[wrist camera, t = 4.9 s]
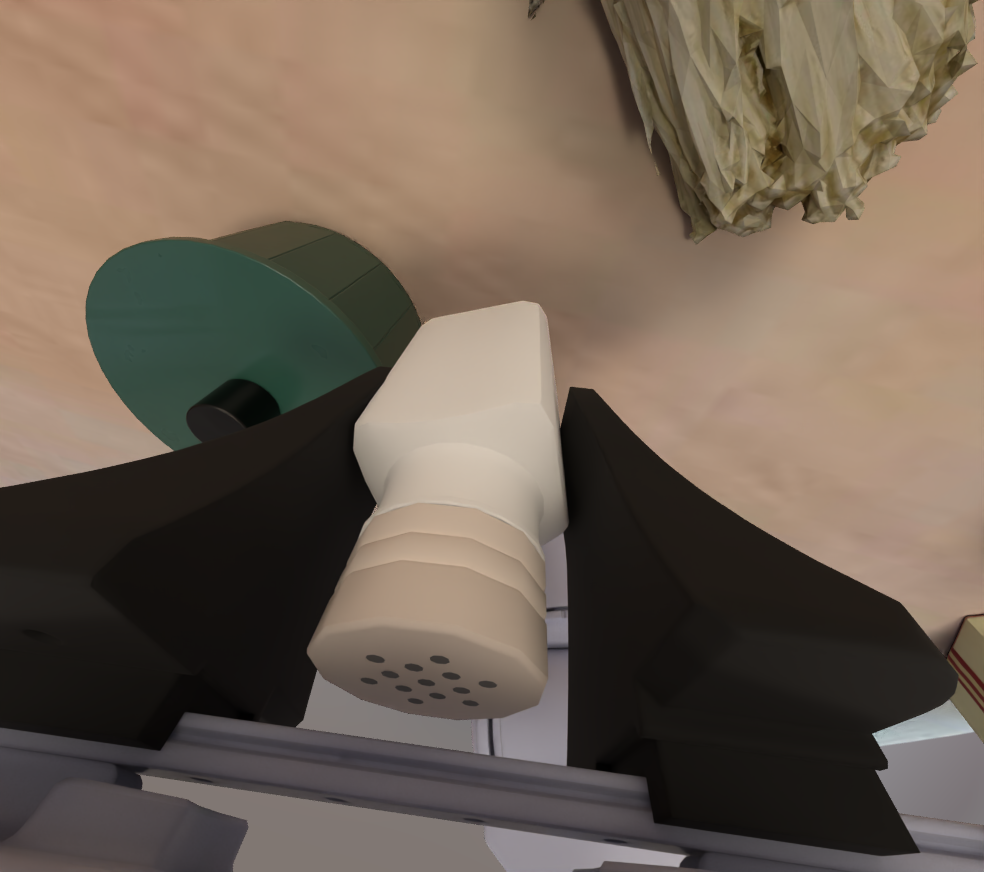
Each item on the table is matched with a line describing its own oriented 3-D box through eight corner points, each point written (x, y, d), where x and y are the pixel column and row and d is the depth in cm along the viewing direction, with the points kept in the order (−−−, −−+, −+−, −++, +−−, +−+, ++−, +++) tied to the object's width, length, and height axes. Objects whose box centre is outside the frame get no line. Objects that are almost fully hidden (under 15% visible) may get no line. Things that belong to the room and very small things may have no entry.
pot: (448, 410, 23) (423, 482, 18) (291, 427, 25) (229, 496, 20) (381, 197, 16) (311, 217, 11) (174, 247, 18) (36, 282, 13)
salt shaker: (543, 289, 11) (565, 601, 3) (558, 403, 13) (589, 736, 6) (418, 315, 12) (200, 608, 4) (453, 416, 14) (356, 723, 6)
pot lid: (436, 478, 18) (421, 528, 16) (234, 493, 21) (194, 539, 18) (326, 197, 11) (268, 209, 9) (36, 268, 13) (-75, 293, 11)
